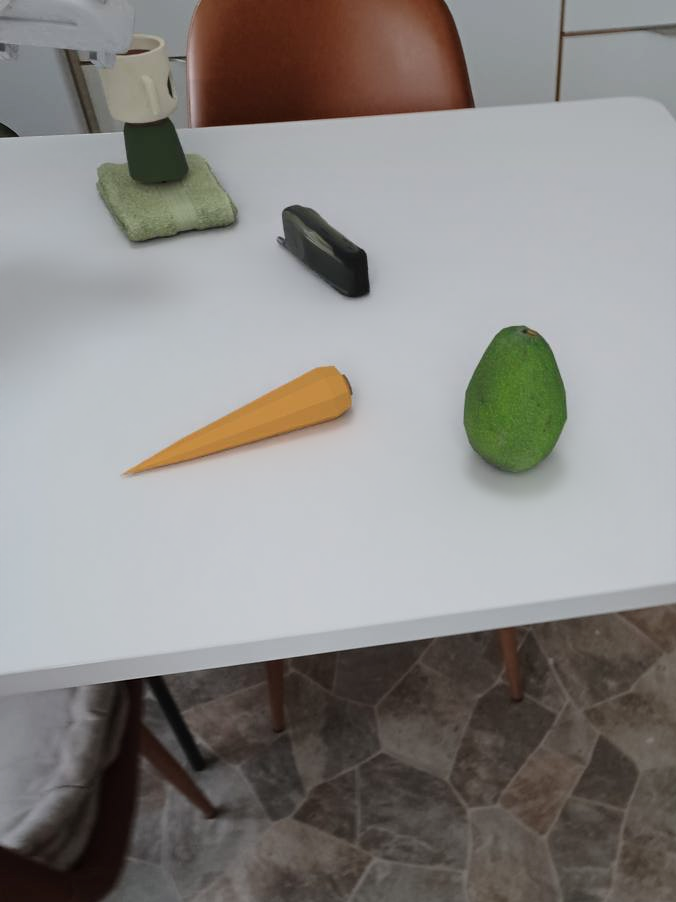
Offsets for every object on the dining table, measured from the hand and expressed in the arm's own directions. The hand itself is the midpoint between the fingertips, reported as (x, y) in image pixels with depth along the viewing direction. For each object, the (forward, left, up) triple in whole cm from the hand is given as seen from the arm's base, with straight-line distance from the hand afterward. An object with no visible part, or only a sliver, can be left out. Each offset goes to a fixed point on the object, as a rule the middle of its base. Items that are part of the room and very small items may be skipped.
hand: (59, 56), depth 86 cm
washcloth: (+4, +12, -19) cm, 23 cm away
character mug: (+4, +11, -16) cm, 20 cm away
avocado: (+35, -39, -19) cm, 56 cm away
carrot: (+13, -33, -19) cm, 41 cm away
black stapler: (+21, -5, -19) cm, 29 cm away
